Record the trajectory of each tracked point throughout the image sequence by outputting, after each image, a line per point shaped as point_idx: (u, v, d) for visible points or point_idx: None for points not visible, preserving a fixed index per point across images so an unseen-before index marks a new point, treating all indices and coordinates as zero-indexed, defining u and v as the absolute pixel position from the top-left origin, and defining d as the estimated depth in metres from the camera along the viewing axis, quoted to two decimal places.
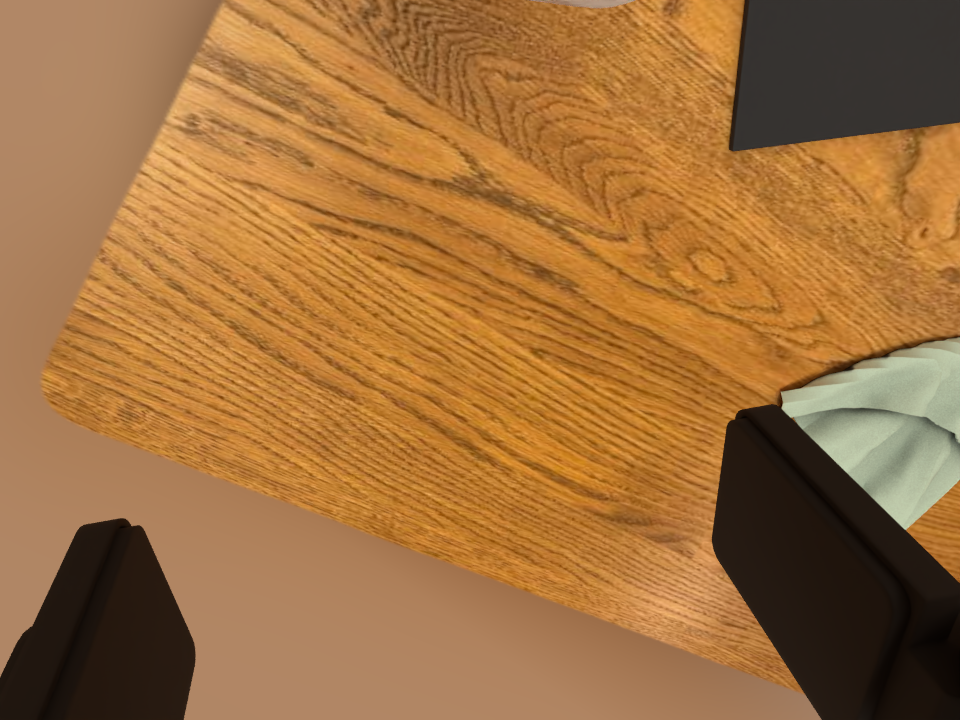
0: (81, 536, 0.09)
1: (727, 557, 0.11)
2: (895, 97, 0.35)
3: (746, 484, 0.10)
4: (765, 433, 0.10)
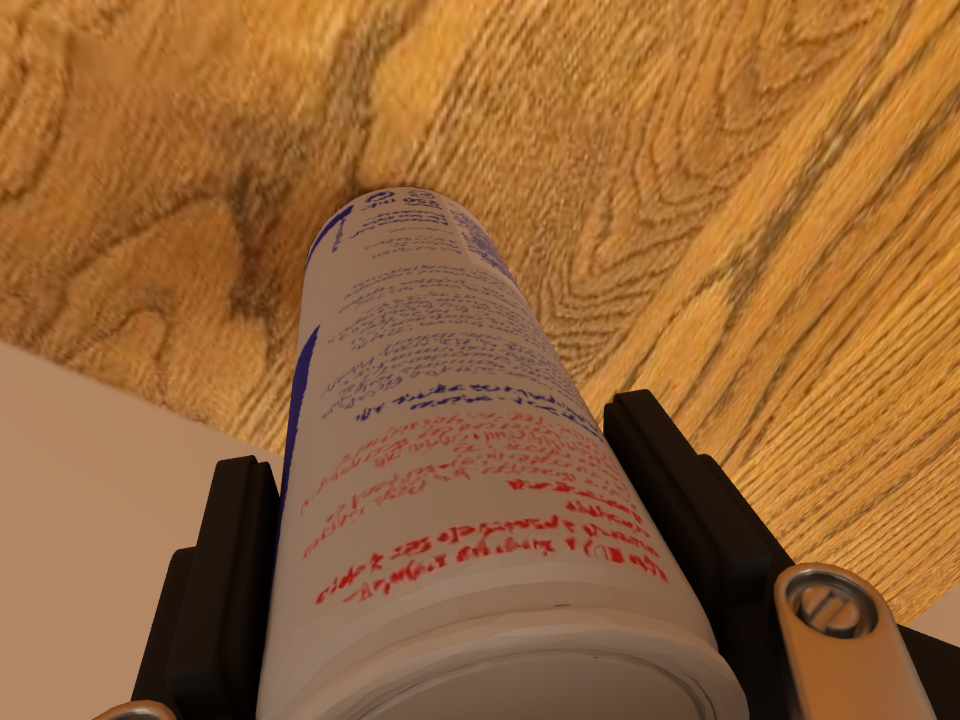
0: (221, 469, 0.10)
1: None
2: None
3: None
4: (631, 415, 0.11)
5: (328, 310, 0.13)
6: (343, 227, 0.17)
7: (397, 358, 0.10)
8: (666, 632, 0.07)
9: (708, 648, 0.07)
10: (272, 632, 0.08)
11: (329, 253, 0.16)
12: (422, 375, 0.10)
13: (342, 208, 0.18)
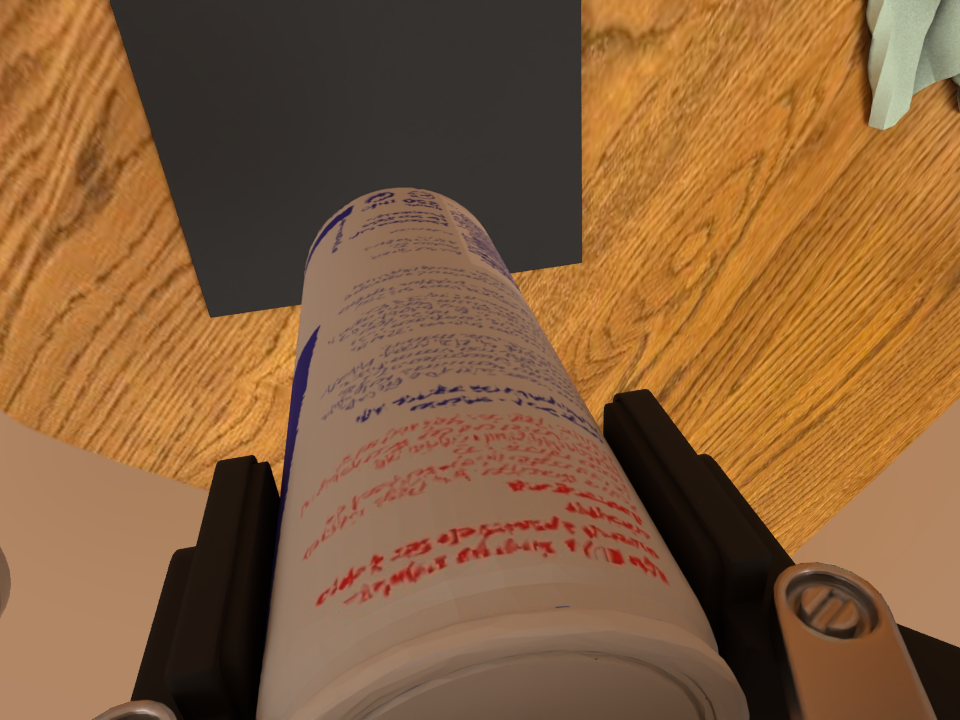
0: (221, 469, 0.10)
1: None
2: (546, 97, 0.33)
3: None
4: (631, 415, 0.11)
5: (328, 311, 0.13)
6: (343, 228, 0.17)
7: (397, 358, 0.10)
8: (666, 633, 0.07)
9: (708, 649, 0.07)
10: (272, 633, 0.08)
11: (329, 254, 0.16)
12: (422, 376, 0.10)
13: (342, 209, 0.18)
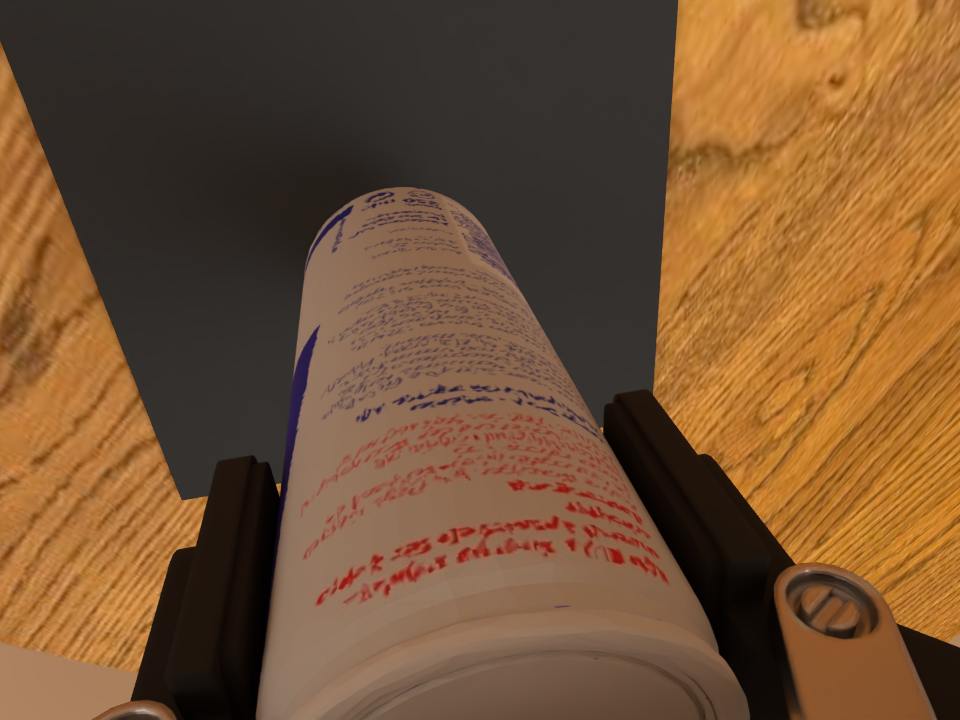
0: (221, 469, 0.10)
1: None
2: (619, 231, 0.25)
3: None
4: (631, 415, 0.11)
5: (328, 310, 0.13)
6: (343, 227, 0.17)
7: (398, 358, 0.10)
8: (667, 633, 0.07)
9: (709, 649, 0.07)
10: (272, 633, 0.08)
11: (329, 253, 0.16)
12: (422, 376, 0.10)
13: (342, 208, 0.18)
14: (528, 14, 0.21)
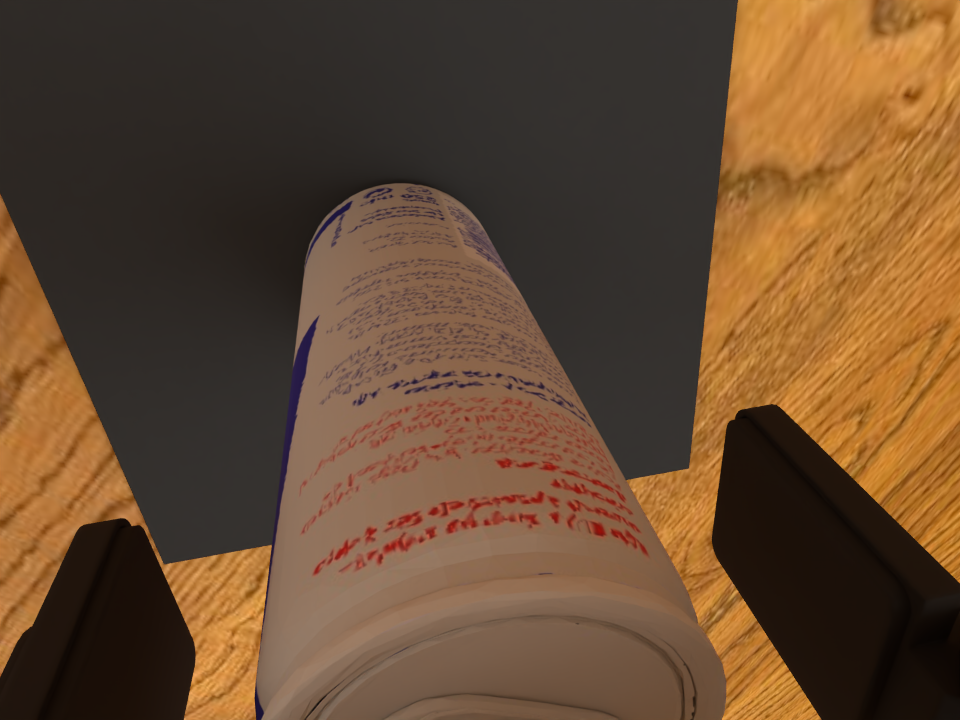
0: (81, 536, 0.09)
1: (728, 557, 0.11)
2: (660, 266, 0.22)
3: (746, 484, 0.10)
4: (765, 433, 0.10)
5: (327, 302, 0.14)
6: (342, 222, 0.17)
7: (393, 346, 0.11)
8: (644, 600, 0.07)
9: (685, 616, 0.07)
10: (272, 604, 0.08)
11: (328, 247, 0.16)
12: (416, 362, 0.10)
13: (341, 204, 0.18)
14: (563, 19, 0.18)
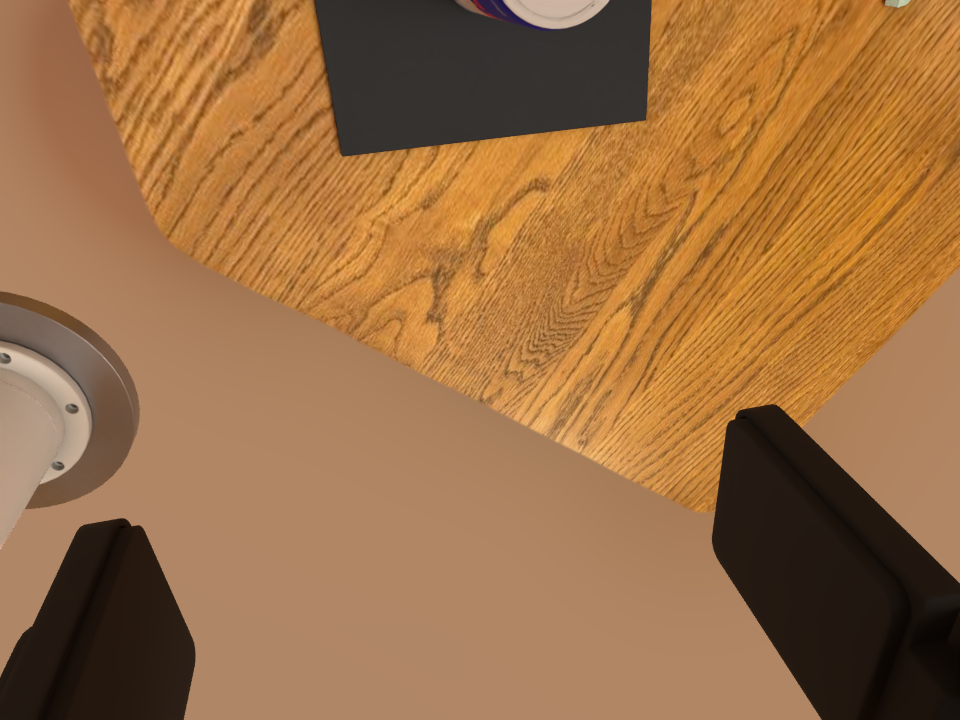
0: (81, 536, 0.09)
1: (727, 558, 0.11)
2: None
3: (746, 484, 0.10)
4: (765, 433, 0.10)
5: None
6: None
7: None
8: None
9: None
10: None
11: None
12: None
13: None
14: None
